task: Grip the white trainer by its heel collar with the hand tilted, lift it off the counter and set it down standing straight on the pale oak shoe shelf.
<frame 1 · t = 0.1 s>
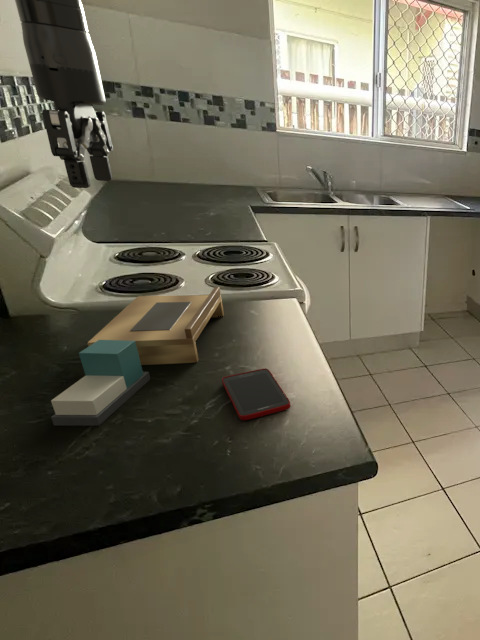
hand: (93, 183, 74), 32 cm above the worktop, tool pointing down, fingers open, 8 cm apart
cell phone: (255, 396, 82), on the worktop
shoe shelf: (168, 338, 98), on the worktop
trainer: (106, 400, 76), on the worktop
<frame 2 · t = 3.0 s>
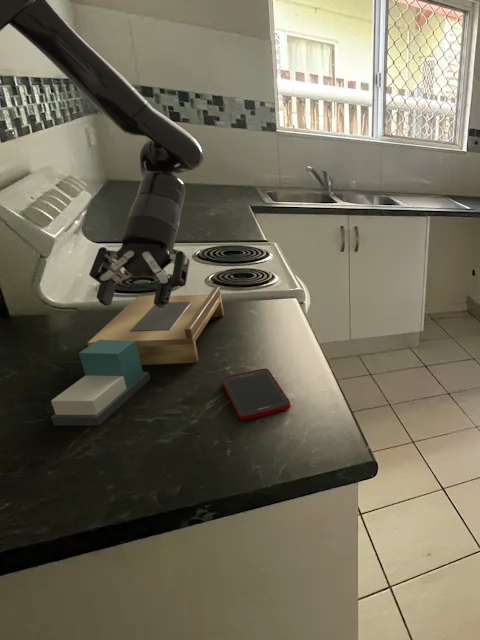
hand: (131, 304, 82), 12 cm above the worktop, tool tilted 45°, fingers open, 8 cm apart
nothing on the worktop moved.
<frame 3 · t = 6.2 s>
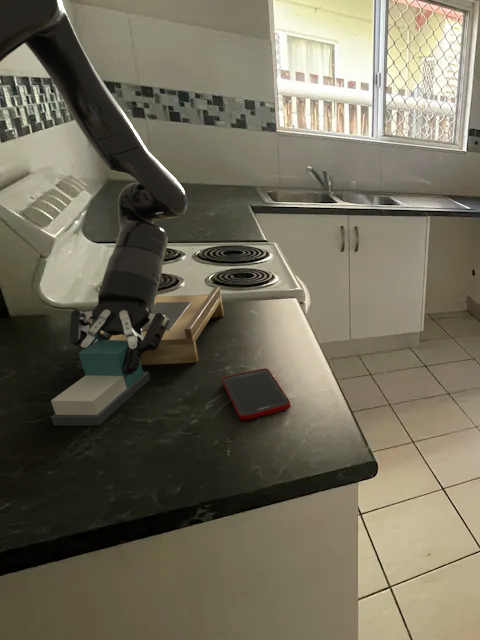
hand: (106, 372, 76), 4 cm above the worktop, tool tilted 45°, fingers closed on trainer, 5 cm apart
trainer: (106, 400, 76), on the worktop, touching gripper
everything else where it was.
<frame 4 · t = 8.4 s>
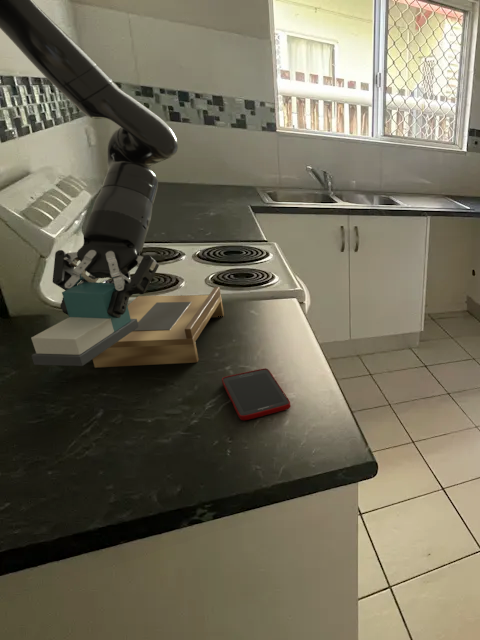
hand: (91, 314, 73), 14 cm above the worktop, tool tilted 45°, fingers closed on trainer, 5 cm apart
trainer: (91, 344, 73), point 10 cm above the worktop, touching gripper
everything else where it was.
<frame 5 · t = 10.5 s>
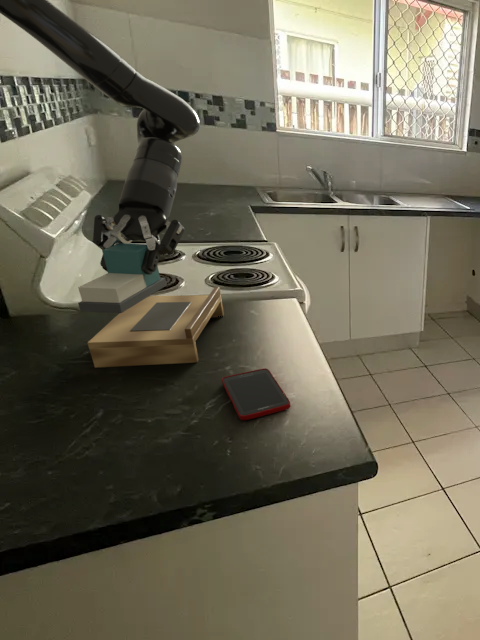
hand: (127, 271, 82), 17 cm above the worktop, tool tilted 45°, fingers closed on trainer, 5 cm apart
trainer: (127, 297, 83), point 13 cm above the worktop, touching gripper
everything else where it was.
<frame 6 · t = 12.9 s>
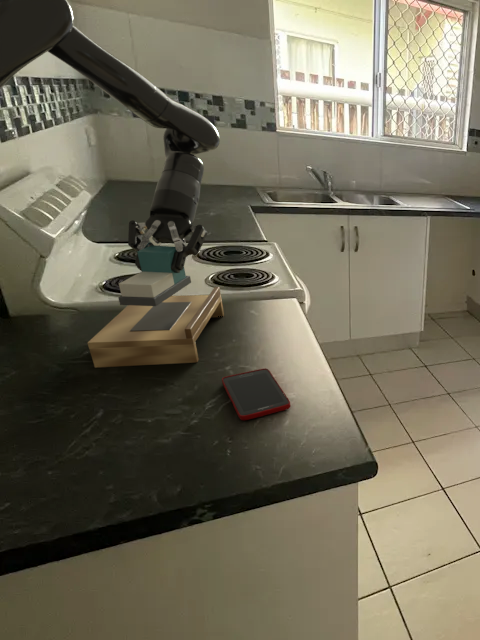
hand: (158, 270, 94), 14 cm above the worktop, tool tilted 45°, fingers closed on trainer, 5 cm apart
trainer: (158, 293, 94), point 10 cm above the worktop, touching gripper
everything else where it was.
when the fingers open (9 cm above the worktop, at t = 14.8 s): trainer stays where it is, resting on shoe shelf.
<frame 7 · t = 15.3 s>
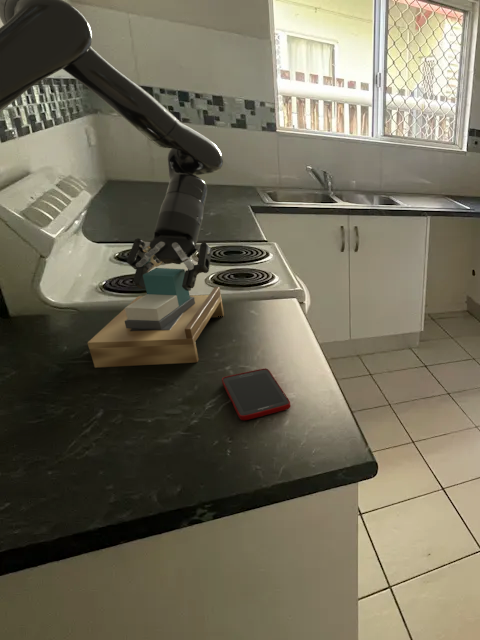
hand: (163, 288, 95), 10 cm above the worktop, tool tilted 45°, fingers open, 8 cm apart
trainer: (163, 315, 96), point 5 cm above the worktop, touching shoe shelf
everything else where it was.
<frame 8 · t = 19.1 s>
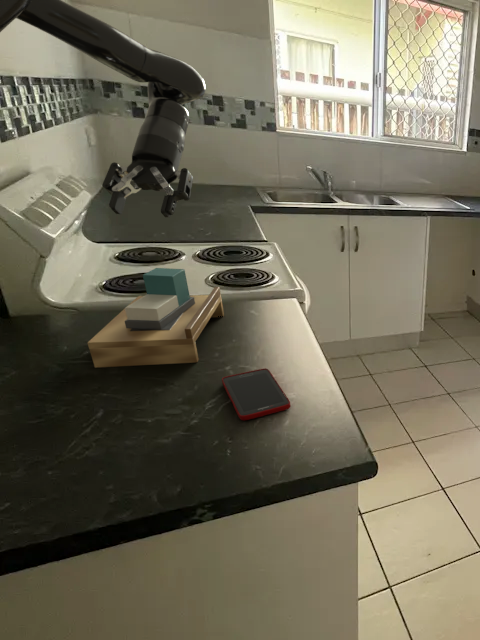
hand: (140, 213, 90), 25 cm above the worktop, tool tilted 45°, fingers open, 8 cm apart
nothing on the worktop moved.
at the end: trainer inside the target area on the shoe shelf (0.1 cm from its centre), point 5.1 cm above the shoe shelf's base; trainer tilted 0°; the gripper is holding nothing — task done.
